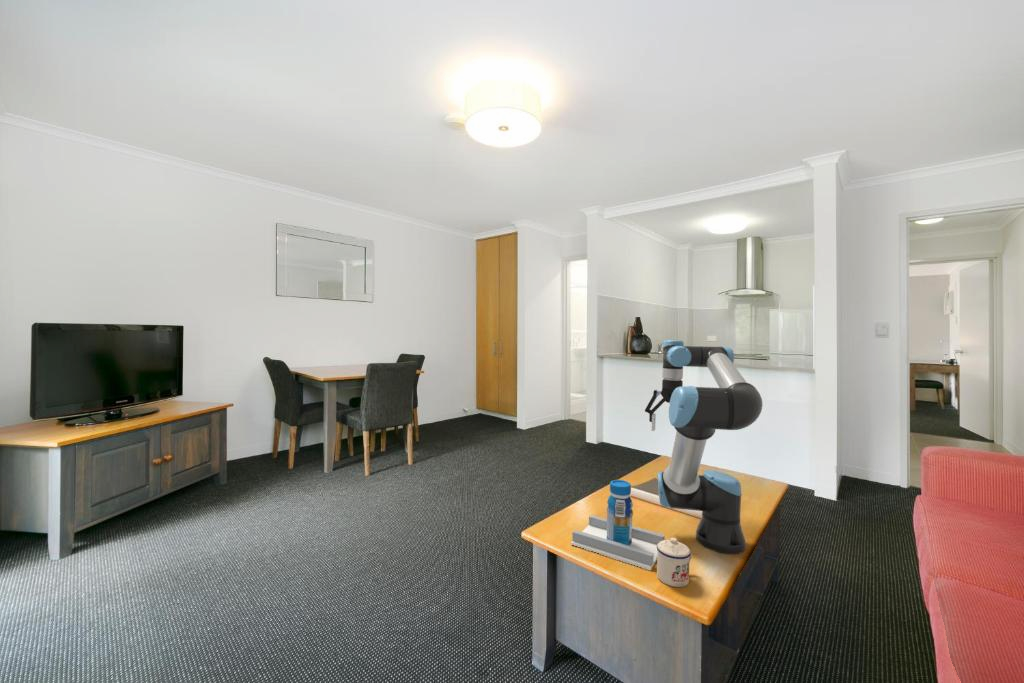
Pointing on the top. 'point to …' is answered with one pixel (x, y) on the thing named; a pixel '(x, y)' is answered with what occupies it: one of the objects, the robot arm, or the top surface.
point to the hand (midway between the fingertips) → (671, 432)
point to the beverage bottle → (620, 513)
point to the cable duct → (635, 554)
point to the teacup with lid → (673, 562)
